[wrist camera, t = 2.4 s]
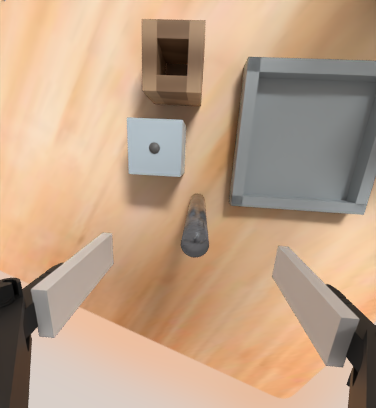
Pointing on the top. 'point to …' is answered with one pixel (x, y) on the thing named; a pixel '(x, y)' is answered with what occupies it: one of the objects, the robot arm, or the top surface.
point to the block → (156, 146)
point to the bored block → (173, 60)
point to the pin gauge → (195, 228)
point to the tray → (305, 135)
